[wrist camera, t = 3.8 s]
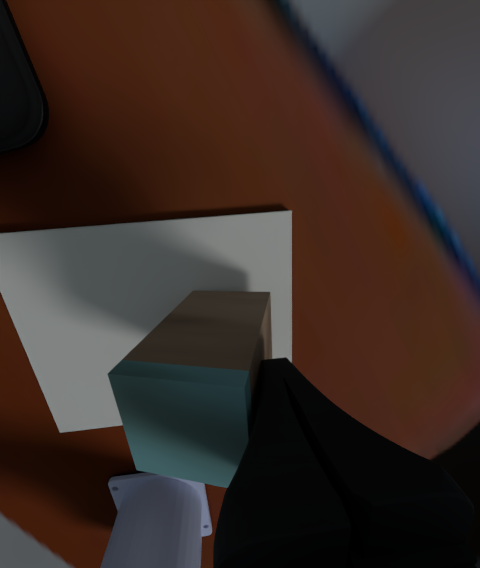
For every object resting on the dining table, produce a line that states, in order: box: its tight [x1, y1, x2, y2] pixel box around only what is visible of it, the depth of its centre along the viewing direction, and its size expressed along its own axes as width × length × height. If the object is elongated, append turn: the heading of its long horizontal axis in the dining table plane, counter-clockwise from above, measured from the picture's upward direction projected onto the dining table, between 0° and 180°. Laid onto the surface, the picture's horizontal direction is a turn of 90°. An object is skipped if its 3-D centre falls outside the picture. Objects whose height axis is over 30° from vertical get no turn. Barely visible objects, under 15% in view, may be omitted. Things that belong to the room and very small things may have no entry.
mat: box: [0, 210, 292, 433], centre depth 17 cm, size 15×18×1 cm
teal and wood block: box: [108, 291, 272, 488], centre depth 13 cm, size 5×5×8 cm
